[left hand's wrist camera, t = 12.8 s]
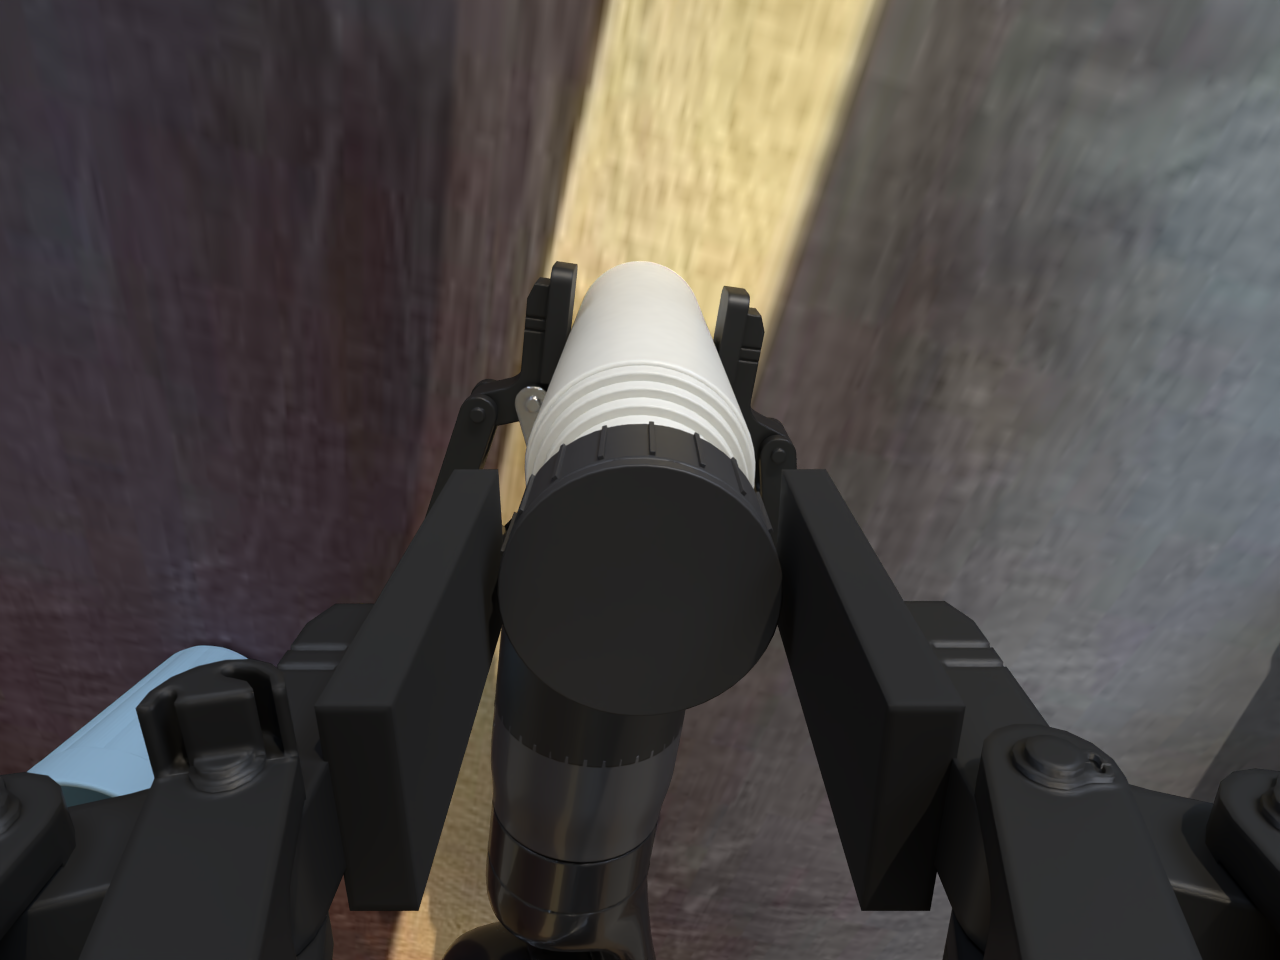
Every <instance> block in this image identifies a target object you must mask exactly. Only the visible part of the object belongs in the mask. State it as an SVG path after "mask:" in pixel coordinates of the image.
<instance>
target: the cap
mask: <svg viewBox="0 0 1280 960" xmlns="http://www.w3.org/2000/svg"><path fill="white" fill-rule="evenodd" d="M771 533H773V529H772V526H771V523H770V520H769V518H768V515H767V512H766V509H765V506H764V504H763V501H762V498H761V495H760V493H759V492H757V493H755V491H754V489H753V487H752V485H751V484H750V482H749V480H748V479H747V477H746V476H745V474H744V473H743V472H742V471H741V469H740V468H739V467H738V463H737V460H736V459H735V458H734V457H732V458H731V459H730V458H729V457H728V456H727V455H726V454H725V453H724V452H722V451H721V450H719V449H718V448H717V447H715V446H714V445H712V444H711V443H709V442H707V441H705V440H704V439H702V438H700V435H699V434H698V433H696V432H695V433H694V435H693V434H691V433H688V432H685V431H683V430H680V429H676V428H673V427H669V426H663V425H654V422H653V421H649V424H626V425H617V426H613V427H607V425H604V426H602V429H601V430H598V431H594V432H592V433H590V434H587V435H585V436H583V437H580V438H578V439H577V440H575V441H573V442H571V443H570V444H568V445H565V444H562V445H561V446H560V449H559V451H558V452H557V453H556V454H554V455H553V456H552V457H551V458H550V459H549V460H548V461H547V462H546V463H545V464H544V465H543V466H542V467H541V468H540V469H539V471H538V472H537V474H536V475H533V474H531V476H530V478H529V480H528V483H527V486H526V489H525V492H524V495H523V498H522V501H521V504H520V507H519V509H518V512H517V513H516V512H514V514H513V517H512V519H511V522H510V525H509V528H508V531H507V534H506V536H505V539H504V542H503V545H502V548H501V551H500V555H503V556H502V559H501V563H500V568H499V573H498V584H497V597H498V606H499V612H500V616H501V620H502V624H503V627H504V629H505V632H506V634H507V636H508V639H509V641H510V643H511V644H512V646H513V648H514V649H515V651H516V653H517V655H518V656H519V657H520V659H521V660H522V661H523V662H524V664H525V665H526V666H527V668H528V669H529V670H530V671H531V672H532V673H533V674H534V675H535V676H536V677H538V678H539V679H540V680H541V681H542V682H543V683H545V684H546V685H547V686H549V687H550V688H551V689H552V690H554V691H556V692H557V693H559V694H561V695H562V696H564V697H566V698H567V699H570V700H572V701H574V702H576V703H578V704H581V705H583V706H586V707H589V708H592V709H595V710H599V711H603V712H608V713H613V714H618V715H629V716H653V715H661V714H668V713H673V712H677V711H681V710H685V709H689V708H691V707H694V706H697V705H700V704H702V703H704V702H706V701H708V700H710V699H712V698H714V697H716V696H718V695H720V694H721V693H723V692H724V691H726V690H728V689H729V688H731V687H732V686H733V685H735V684H736V683H737V682H738V681H739V680H740V679H742V678H743V677H744V676H745V675H746V674H747V673H748V672H749V671H750V670H751V669H752V668H753V666H754V665H755V664H756V663H757V662H758V660H759V659H760V658H761V656H762V655H763V653H764V652H765V650H766V649H767V647H768V645H769V643H770V641H771V639H772V637H773V635H774V633H775V630H776V627H777V624H778V621H779V618H780V613H781V608H782V603H783V579H782V576H783V571H782V568H781V565H780V562H779V558H778V554H777V551H776V548H775V546H774V543H773V540H772V537H771Z"/></svg>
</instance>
